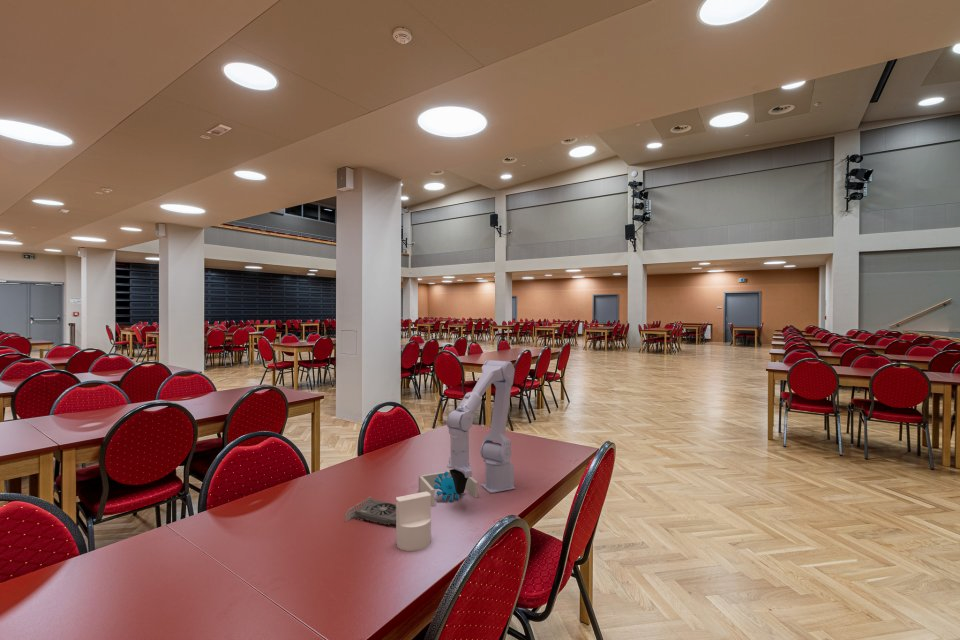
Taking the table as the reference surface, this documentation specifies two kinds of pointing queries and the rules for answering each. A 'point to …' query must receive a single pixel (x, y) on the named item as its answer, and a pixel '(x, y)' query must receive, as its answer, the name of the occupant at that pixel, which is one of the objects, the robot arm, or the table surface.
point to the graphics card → (374, 511)
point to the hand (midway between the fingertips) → (460, 493)
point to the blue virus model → (446, 487)
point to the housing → (429, 482)
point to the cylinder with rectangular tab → (413, 521)
